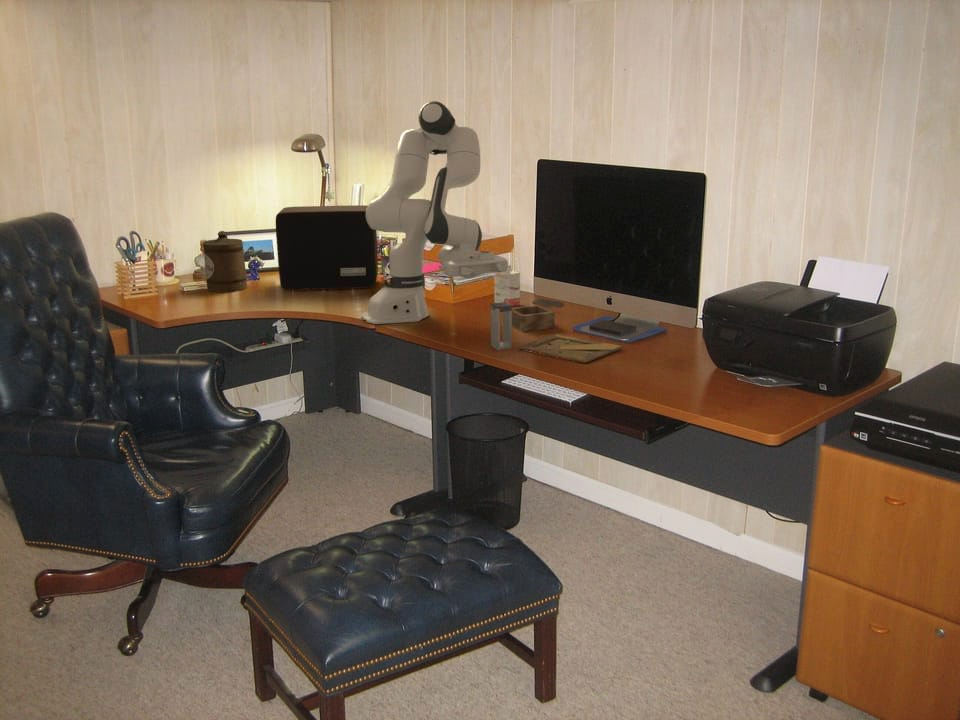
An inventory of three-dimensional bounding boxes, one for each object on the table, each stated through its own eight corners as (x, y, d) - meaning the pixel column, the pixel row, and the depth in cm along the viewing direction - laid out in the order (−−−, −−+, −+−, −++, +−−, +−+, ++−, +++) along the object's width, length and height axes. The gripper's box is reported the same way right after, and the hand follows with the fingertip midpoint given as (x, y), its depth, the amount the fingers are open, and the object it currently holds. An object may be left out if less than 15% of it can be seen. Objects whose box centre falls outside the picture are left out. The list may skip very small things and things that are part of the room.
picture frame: (621, 351, 276) (555, 338, 290) (621, 345, 275) (555, 332, 290) (585, 366, 262) (518, 351, 277) (586, 360, 262) (518, 346, 276)
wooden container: (209, 285, 369) (203, 229, 362) (248, 283, 371) (243, 227, 365) (205, 293, 355) (199, 235, 348) (246, 291, 357) (241, 233, 351)
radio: (378, 280, 374) (375, 204, 366) (376, 290, 357) (373, 210, 349) (286, 282, 372) (281, 206, 363) (280, 292, 355) (274, 212, 346)
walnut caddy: (522, 331, 296) (522, 316, 295) (506, 323, 306) (506, 308, 305) (554, 327, 300) (554, 312, 299) (538, 319, 310) (538, 304, 309)
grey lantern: (497, 350, 276) (496, 307, 273) (490, 346, 280) (490, 303, 277) (512, 348, 278) (512, 305, 274) (505, 344, 282) (505, 302, 278)
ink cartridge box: (520, 305, 330) (521, 263, 326) (510, 307, 327) (510, 265, 323) (504, 301, 337) (504, 260, 332) (493, 303, 333) (493, 262, 329)
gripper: (436, 256, 291) (454, 263, 279) (496, 251, 300) (515, 257, 287) (436, 276, 293) (454, 284, 281) (496, 270, 301) (515, 278, 289)
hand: (486, 270), depth 284 cm, fingers open, 8 cm apart
